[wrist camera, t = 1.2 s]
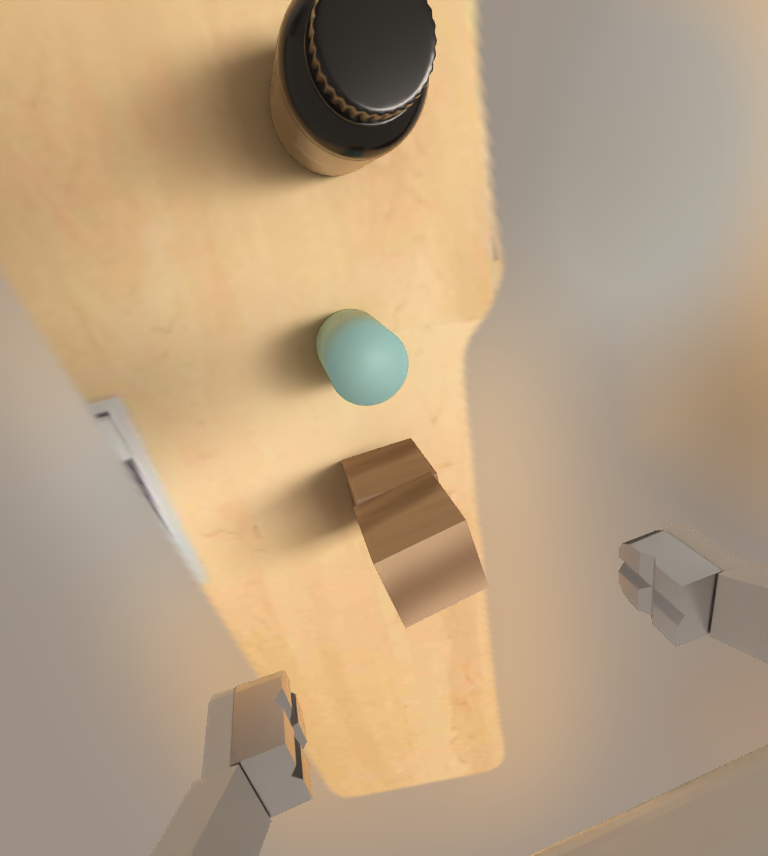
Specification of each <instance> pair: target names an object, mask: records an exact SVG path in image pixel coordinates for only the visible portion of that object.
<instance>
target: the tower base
mask: <svg viewBox="0 0 768 856" xmlns="http://www.w3.org/2000/svg"><path fill="white" fill-rule="evenodd" d="M341 462H342V466H343V469H344V472H345V476H346V479H347V483H348V486H349V490H350V493H351V496H352V500H353V503H354V507H355V506H357V505H359V504H361V503H363V502H365V501H368V500H370V499H372V498H374V497H376V496H378V495H380V494H383V493H385V492H387V491H389V490H391V489H393V488H395V487H397V486H400V485H402V484H404V483H406V482H408V481H410V480H412V479H415V478H417V477H419V476H421V475H423V474H425V473H427V472H430V471H431V473H432V474H433V475H434V477H435V478H436V479H437V481H438V476H437V473H436V471H435V470H434V469H433V467H432V466H431V465H430V463H429V462H428V461H427V459H426V458H425V457H424V455H423V454H422V453H421V451H420V450H419V448H418V447H417V446H416V444H415V443H414V442H413V440H412V439H411V438H410V439H407V440H404V441H400V442H397V443H394V444H391V445H388V446H385V447H382V448H378V449H375V450H372V451H369V452H366V453H363V454H360V455H357V456H353V457H350V458H347V459H344V460H341ZM438 482H439V481H438Z"/></svg>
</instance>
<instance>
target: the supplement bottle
mask: <svg viewBox="0 0 768 856" xmlns="http://www.w3.org/2000/svg"><path fill="white" fill-rule="evenodd" d="M436 42H437V39H436V35H435V22H434V20H433V18H432V9H431V8H430V6H429V5H428V4H427V0H292V1H291V3H290V5H289V7H288V9H287V11H286V13H285V15H284V18H283V21H282V24H281V27H280V31H279V35H278V40H277V46H276V53H275V60H274V67H273V73H272V80H271V88H270V109H271V116H272V120H273V124H274V127H275V130H276V133H277V135H278V137H279V139H280V141H281V143H282V144H283V146H284V147H285V149H286V150H287V151H288V153H289V154H290V155H291V156H292V157H293V158H294V159H295V160H296V161H297V162H298V163H299V164H301V165H302V166H304V167H305V168H307V169H309V170H311V171H313V172H315V173H318V174H322V175H328V176H338V175H344V174H348V173H351V172H353V171H355V170H357V169H360V168H361V167H363V166H365V165H367V164H369V163H370V162H372V161H374V160H376V159H378V158H379V157H381V156H383V155H385V154H387V153H388V152H390V151H391V150H393V149H394V148H395V147H397V146H398V145H399V144H400V143H401V142H402V141H403V140H404V139H405V138H406V137H407V136H408V135H409V134H410V132H411V131H412V129H413V128H414V127H415V125H416V123H417V121H418V119H419V117H420V115H421V113H422V110H423V107H424V104H425V101H426V97H427V91H428V85H429V75H430V74H431V72H432V71H433V61H434V59H435V56H436V51H435V45H436Z"/></svg>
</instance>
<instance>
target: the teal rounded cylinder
mask: <svg viewBox="0 0 768 856" xmlns="http://www.w3.org/2000/svg"><path fill="white" fill-rule="evenodd" d="M316 351H317V355H318V357H319V359H320V361H321V363H322V365H323V367H324V369H325V371H326V373H327V375H328V377H329V379H330V381H331V383H332V385H333V387H334V389H335V390H336V391H337V393H338V394H339V395H340V396H341V397H343V398H344V399H345V400H347V401H349V402H351V403H353V404H357V405H363V406H369V405H375V404H379V403H382V402H384V401H386V400H388V399H389V398H391V397H392V396H393V395H394V394H396V392H397V391H398V390H399V389H400V388H401V386H402V385H403V383H404V381H405V378H406V376H407V372H408V355H407V351H406V349H405V347H404V345H403V343H402V342H401V340H400V339H399V338H398V337H397V336H396V335H395V334H394V333H392V332H391V331H390V330H388V329H387V328H386V327H385V326H383V325H382V324H381V323H380V322H378V321H377V320H376V319H374V318H373V317H372V316H370V315H369V314H368V313H366V312H363V311H361V310H357V309H345V310H341V311H338V312H336V313H334V314H332V315H331V316H329V317H328V318H327V319H326V320H325V321H324V322H323V324H322V325H321V327H320V329H319V331H318V334H317V338H316Z"/></svg>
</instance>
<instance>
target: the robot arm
mask: <svg viewBox="0 0 768 856" xmlns="http://www.w3.org/2000/svg"><path fill="white" fill-rule="evenodd" d="M619 557H620V558H621V559H622V560H623V561H624V563H623V565H622V566H621V568H620V570H619V571H618V573H619V584H620V586H621V589H622V591H623V593H624V595H625V596H626V597H627V599H628V600H629V602H630V603H631V604H632V605H633V606H634V607H635V608H636V609H637V610H639V611H642V612H645V613H648V614H650V615H651V619H652V624H653V625H654V626H655V627H656V628H657V629H658V630H659V631H660V632H661V633H662V634H663V635H664V636H665V637H666V638H667V639H668V640H669V641H670V642H671V643H672V644H674V646H675V647H677V646H680V645H683V644H685V643H688V642H691V641H693V640H696V639H699V638H701V637H704V636H706V635H709V634H710V637H712V638H714V639H716V640H718V641H720V642H723V643H725V644H727V645H729V646H731V647H733V648H736V649H738V650H740V651H742V652H744V653H747V654H749V655H751V656H753V657H755V658H758V659H760V660H762V661H764V662H766V663H768V566H765V565H762V564H758V563H754V562H746V563H742V562H741V561H739V560H738V559H736V558H735V557H733V556H732V555H730V554H729V553H727V552H726V551H724V550H723V549H721V548H720V547H718V546H717V545H715V544H714V543H712V542H711V541H709V540H708V539H706V538H705V537H703V536H702V535H700V534H699V533H697V532H696V531H694V530H693V529H691V528H689V527H688V526H686V525H685V524H682V523H675V524H672V525H670V526H667V527H664V528H662V529H659V530H656V531H653V532H650V533H648V534H645V535H643V536H640V537H638V538H635V539H633V540H630V541H627V542H625V543H622V544H621V546H620V548H619ZM306 742H307V739H306V730H305V724H304V719H303V714H302V710H301V707H300V704H299V701H298V699H297V696H296V694H294V693H291V691H290V680H289V678H288V676H287V674H286V672H285V671H279V672H276V673H274V674H271V675H268V676H265V677H262V678H259V679H256V680H253V681H250V682H247V683H245V684H242V685H239V686H236V687H234V688H231V689H228V690H225V691H222V692H219V693H217V694H214V695H212V697H211V699H210V702H209V705H208V715H207V725H206V736H205V745H204V755H203V765H202V775H201V779H199V780H196V781H194V782H193V783H192V785H191V787H190V789H189V790H188V792H187V794H186V795H185V797H184V799H183V800H182V802H181V804H180V805H179V807H178V809H177V811H176V812H175V814H174V816H173V817H172V819H171V821H170V822H169V824H168V826H167V827H166V829H165V831H164V832H163V834H162V836H161V838H160V839H159V841H158V843H157V844H156V846H155V848H154V849H153V851H152V853H151V854H150V856H259V853H260V851H261V848H262V845H263V842H264V840H265V837H266V834H267V831H268V828H269V825H270V823H271V820H270V818H271V817H273V816H275V815H278V814H280V813H282V812H284V811H287V810H289V809H291V808H293V807H295V806H298V805H300V804H302V803H304V802H306V801H308V800H311V799H312V788H311V779H310V778H311V777H310V767H309V762H308V760H307V758H306V756H305V753H304V751H303V749H304V747H305V744H306ZM531 856H768V744H767V745H765V746H763V747H761V748H759V749H757V750H755V751H753V752H750V753H748V754H746V755H744V756H742V757H740V758H737V759H735V760H733V761H731V762H729V763H727V764H725V765H723V766H721V767H718V768H716V769H714V770H712V771H710V772H708V773H706V774H703V775H701V776H699V777H697V778H695V779H693V780H691V781H688V782H686V783H684V784H682V785H680V786H678V787H676V788H673V789H671V790H669V791H667V792H665V793H663V794H661V795H659V796H656V797H655V798H652V799H650V800H648V801H646V802H644V803H641V804H639V805H637V806H635V807H633V808H631V809H629V810H627V811H625V812H622V813H620V814H618V815H616V816H614V817H612V818H609V819H608V820H605V821H603V822H601V823H599V824H597V825H595V826H593V827H590V828H588V829H586V830H584V831H582V832H580V833H577V834H575V835H573V836H571V837H569V838H567V839H565V840H563V841H560V842H558V843H556V844H554V845H552V846H550V847H548V848H546V849H544V850H541V851H539V852H537V853H535V854H533V855H531Z"/></svg>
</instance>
